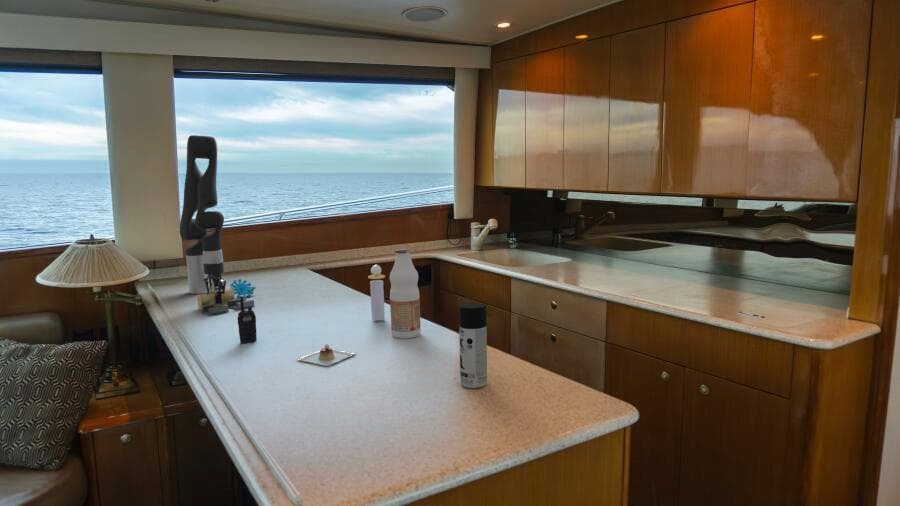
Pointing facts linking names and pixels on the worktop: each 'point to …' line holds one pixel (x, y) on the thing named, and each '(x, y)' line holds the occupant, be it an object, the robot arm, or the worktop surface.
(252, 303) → the grey u-channel block
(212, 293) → the link bar
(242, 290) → the gear
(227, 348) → the worktop surface
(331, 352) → the dessert
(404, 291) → the fruit juice
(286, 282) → the worktop surface
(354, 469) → the worktop surface
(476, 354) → the spray can
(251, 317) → the two-way radio
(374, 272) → the perfume bottle
